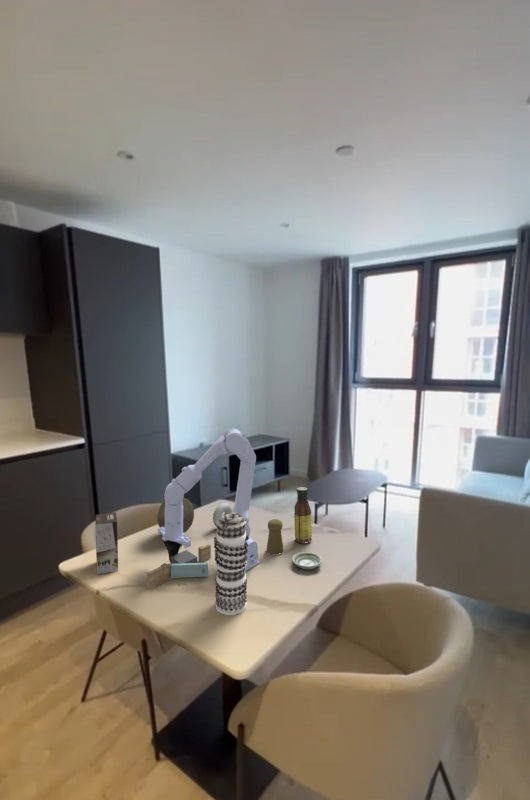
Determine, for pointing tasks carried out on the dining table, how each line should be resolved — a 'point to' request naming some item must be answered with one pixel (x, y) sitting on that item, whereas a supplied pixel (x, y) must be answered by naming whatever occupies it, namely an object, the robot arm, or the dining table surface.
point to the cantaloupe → (187, 514)
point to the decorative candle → (231, 564)
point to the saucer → (306, 560)
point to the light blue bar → (188, 570)
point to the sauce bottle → (302, 517)
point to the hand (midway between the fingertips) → (173, 561)
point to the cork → (275, 537)
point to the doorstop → (183, 558)
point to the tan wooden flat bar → (162, 572)
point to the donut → (221, 511)
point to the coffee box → (106, 542)
